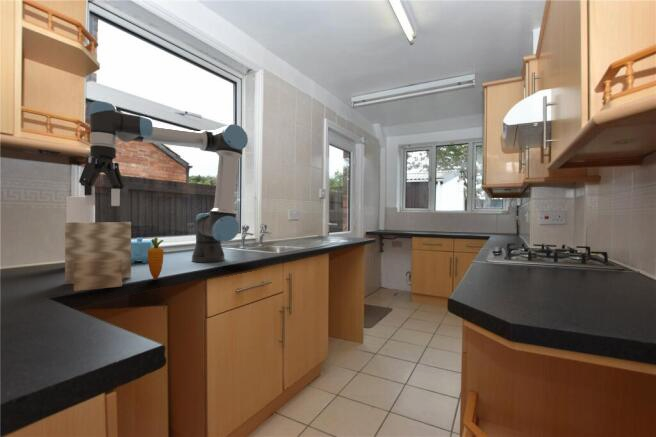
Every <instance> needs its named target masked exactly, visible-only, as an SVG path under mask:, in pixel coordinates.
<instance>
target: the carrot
mask: <svg viewBox="0 0 656 437" xmlns="http://www.w3.org/2000/svg"><path fill="white" fill-rule="evenodd" d="M158 240H159V239H158V237H154V238H152V239H151V241H152V243H153V245H154V247H153V248H150V249H149V250H148V261H147V262H148V263H147V264H148V268H149V272H150V275H151V277H152V278H153V280H154V281H157V280H158V278H159V277H160V275H161V272H162V270H163V269H162V268H163V263H164V252H165V250H164V248H162V247H159V246H160V245H161V244H162V242H164V240H163V239H161V240H159V242H158Z"/></svg>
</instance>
